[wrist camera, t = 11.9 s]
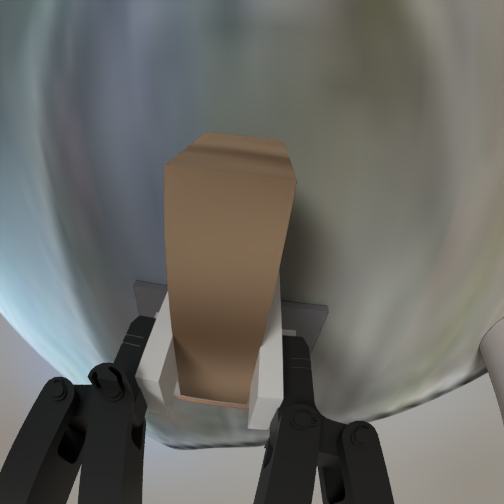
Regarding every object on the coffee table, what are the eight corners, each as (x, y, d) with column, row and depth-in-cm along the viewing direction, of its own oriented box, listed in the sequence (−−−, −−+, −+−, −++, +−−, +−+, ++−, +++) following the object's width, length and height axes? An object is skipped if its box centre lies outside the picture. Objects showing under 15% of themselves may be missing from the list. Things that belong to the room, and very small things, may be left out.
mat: (136, 280, 20) (133, 285, 19) (327, 305, 20) (328, 311, 20) (156, 375, 27) (154, 380, 26) (288, 393, 27) (289, 398, 27)
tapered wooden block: (146, 129, 10) (76, 163, 6) (345, 152, 10) (395, 201, 6) (168, 382, 20) (154, 438, 16) (271, 396, 20) (270, 454, 16)
